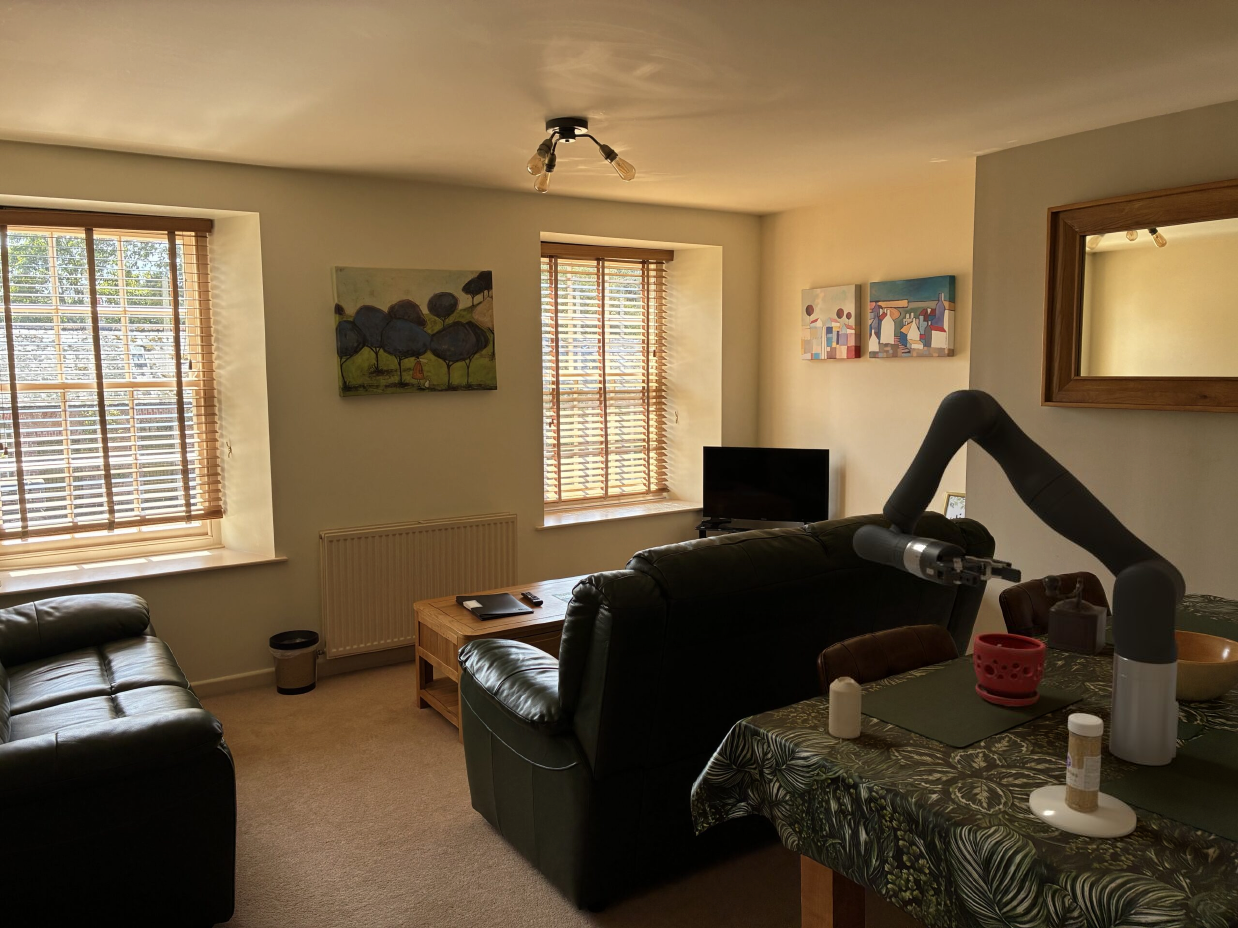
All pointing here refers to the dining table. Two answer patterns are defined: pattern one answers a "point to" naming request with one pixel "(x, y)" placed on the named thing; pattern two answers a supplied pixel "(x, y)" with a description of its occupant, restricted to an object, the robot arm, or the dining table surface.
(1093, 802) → the sprinkles bottle
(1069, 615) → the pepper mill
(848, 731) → the candle
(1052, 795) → the cream plate
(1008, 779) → the dining table surface
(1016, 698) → the plant pot
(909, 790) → the dining table surface
